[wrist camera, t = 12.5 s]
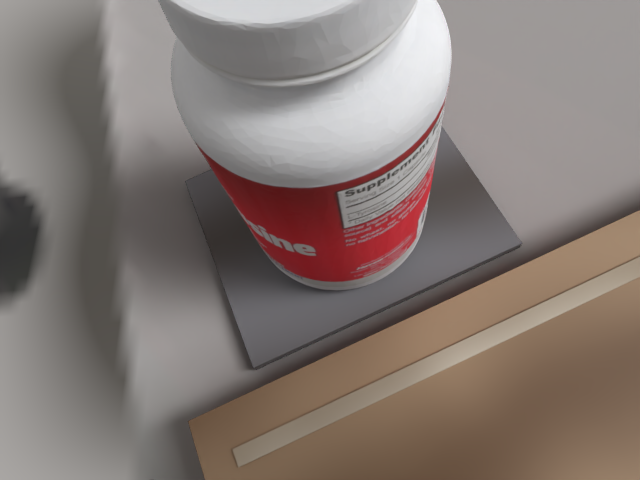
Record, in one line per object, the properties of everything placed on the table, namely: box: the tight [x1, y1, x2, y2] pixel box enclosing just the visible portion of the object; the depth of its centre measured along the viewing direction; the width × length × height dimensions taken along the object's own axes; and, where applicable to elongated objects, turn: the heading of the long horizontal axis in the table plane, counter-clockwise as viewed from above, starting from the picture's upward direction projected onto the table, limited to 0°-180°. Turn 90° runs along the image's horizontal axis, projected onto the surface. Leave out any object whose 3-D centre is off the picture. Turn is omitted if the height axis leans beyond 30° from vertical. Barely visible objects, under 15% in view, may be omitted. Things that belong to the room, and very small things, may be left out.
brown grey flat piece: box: [185, 126, 640, 480], centre depth 16 cm, size 18×28×2 cm, turn 114°
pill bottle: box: [158, 0, 451, 290], centre depth 13 cm, size 6×6×11 cm
